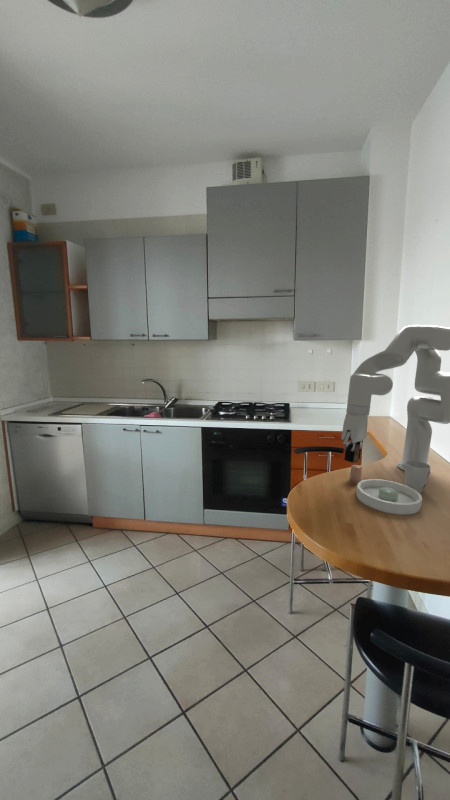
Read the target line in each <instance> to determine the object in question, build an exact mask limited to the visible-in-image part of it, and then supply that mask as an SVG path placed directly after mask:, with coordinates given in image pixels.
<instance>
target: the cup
mask: <svg viewBox="0 0 450 800" xmlns="http://www.w3.org/2000/svg"><path fill="white" fill-rule="evenodd" d="M429 472H430V473H431V465H430V464H428V463H427V464H426V463H423V462H419V461H406V462H405V471H404V482H405V484H404V485H406V486H408V487H410V488H412V489H415V490H416V491H417V492H418V493H420V494H421V493H423V490H424V489H425V487H426V486H427V485H426V484H427V482H428V479H429V474H430V473H429Z"/></svg>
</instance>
